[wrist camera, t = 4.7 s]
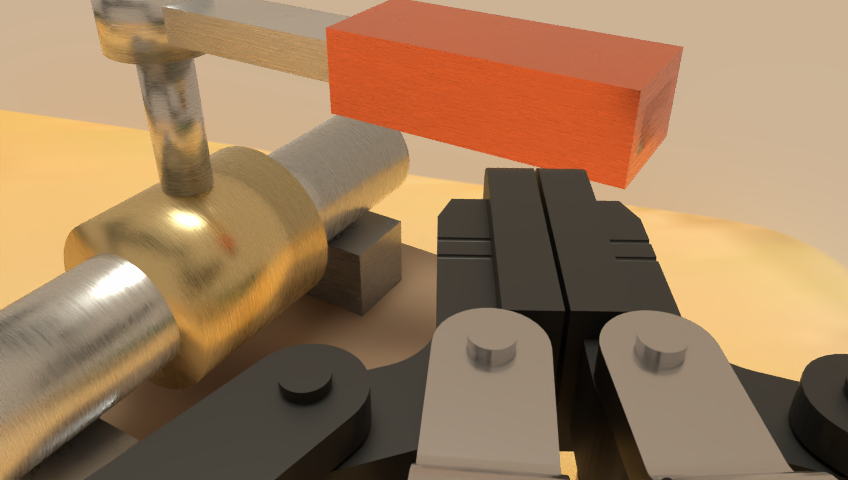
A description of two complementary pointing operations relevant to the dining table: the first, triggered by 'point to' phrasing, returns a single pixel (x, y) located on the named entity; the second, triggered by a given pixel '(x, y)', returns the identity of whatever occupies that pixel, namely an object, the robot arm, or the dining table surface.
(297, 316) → the base board
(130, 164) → the dining table surface
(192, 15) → the valve lever
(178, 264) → the pipe valve
